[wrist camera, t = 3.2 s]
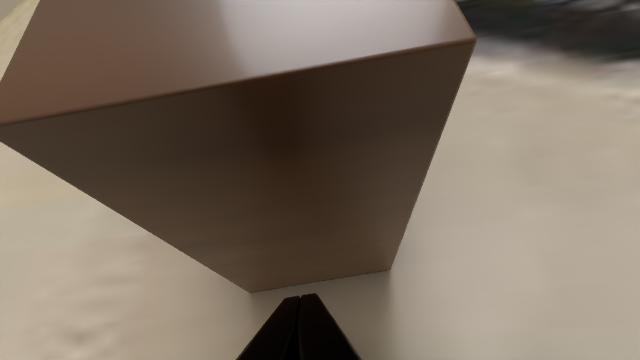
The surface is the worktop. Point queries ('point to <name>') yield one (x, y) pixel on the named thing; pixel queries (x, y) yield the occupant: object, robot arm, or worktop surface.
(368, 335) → the worktop surface
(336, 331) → the robot arm
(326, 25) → the walnut block
